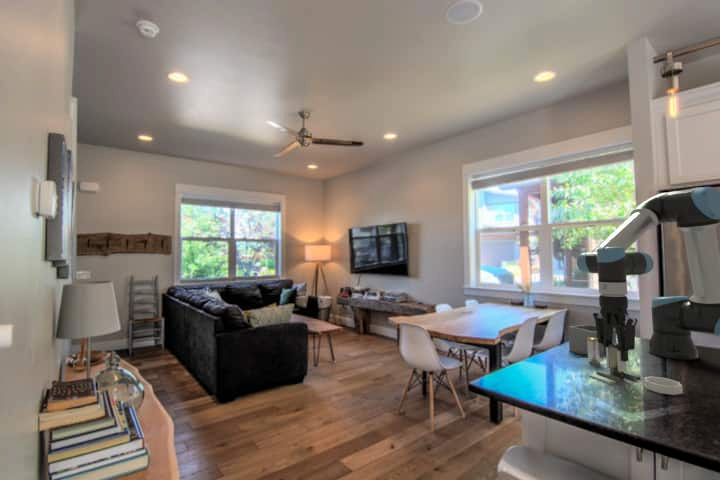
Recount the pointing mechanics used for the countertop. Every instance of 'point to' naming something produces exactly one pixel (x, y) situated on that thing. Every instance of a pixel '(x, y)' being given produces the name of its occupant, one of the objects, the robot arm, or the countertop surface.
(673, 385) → the white octagonal bowl
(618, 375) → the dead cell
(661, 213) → the robot arm
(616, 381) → the cradle
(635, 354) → the countertop surface
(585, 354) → the smartphone
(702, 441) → the countertop surface
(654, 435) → the countertop surface
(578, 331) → the phone caddy
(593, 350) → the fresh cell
